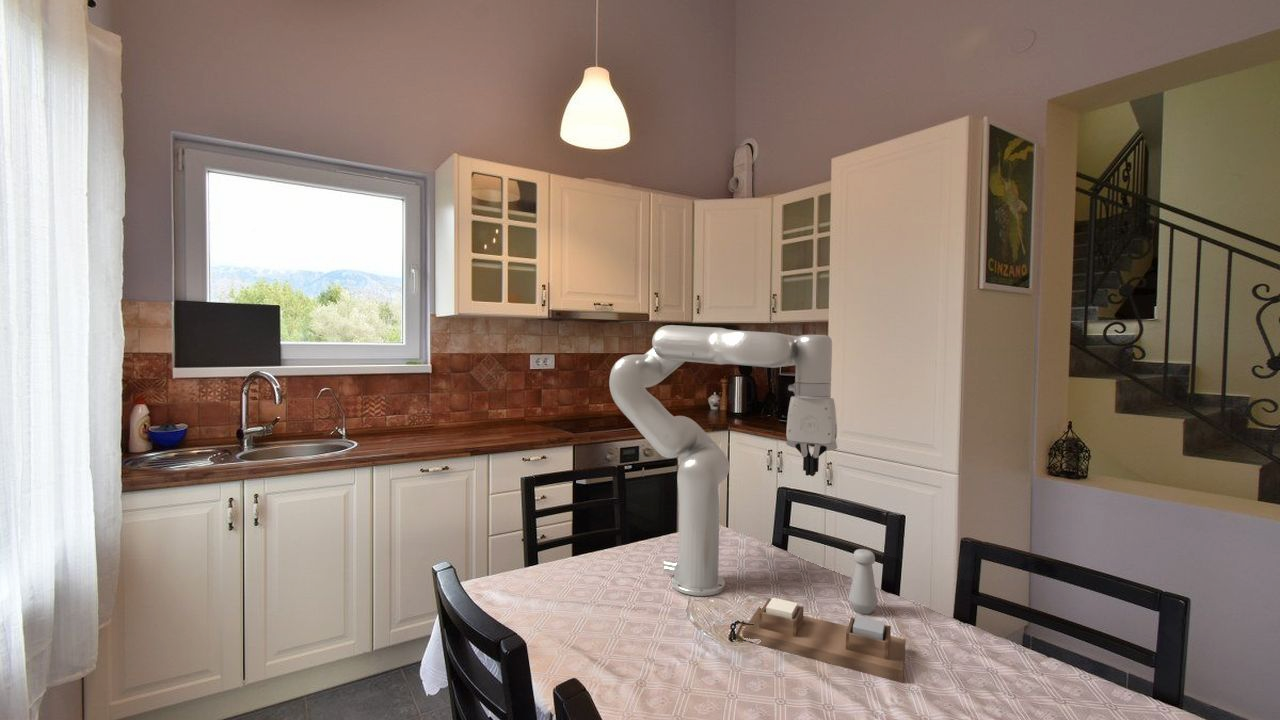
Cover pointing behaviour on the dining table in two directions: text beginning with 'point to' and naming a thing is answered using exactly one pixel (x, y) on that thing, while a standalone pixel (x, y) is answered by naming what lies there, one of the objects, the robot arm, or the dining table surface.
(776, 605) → the cream key
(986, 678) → the dining table surface
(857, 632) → the grey key
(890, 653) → the key panel
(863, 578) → the salt shaker
